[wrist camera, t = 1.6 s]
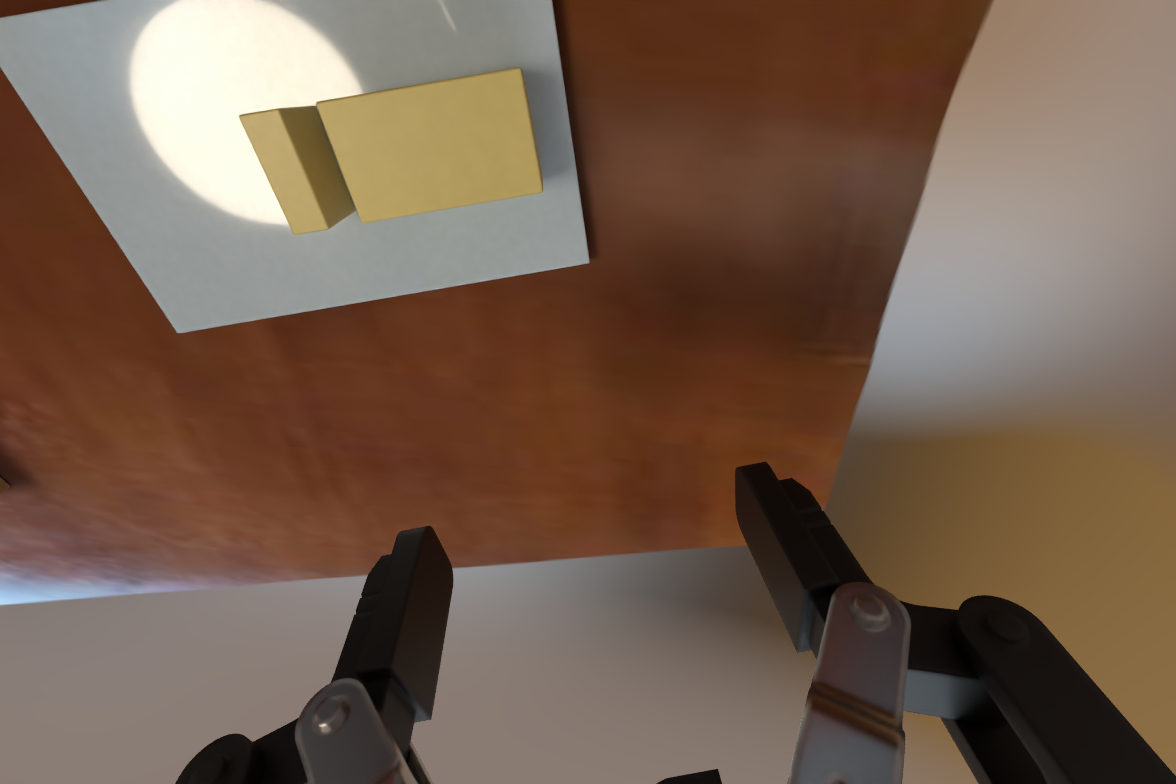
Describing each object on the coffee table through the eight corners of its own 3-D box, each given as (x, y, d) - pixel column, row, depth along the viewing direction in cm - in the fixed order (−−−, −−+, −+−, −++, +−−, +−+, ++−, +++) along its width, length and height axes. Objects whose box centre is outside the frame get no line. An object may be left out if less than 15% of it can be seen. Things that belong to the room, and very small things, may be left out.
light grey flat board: (-5, 25, 18) (-32, 21, 17) (540, -69, 18) (541, -76, 17) (189, 325, 24) (177, 334, 23) (588, 257, 24) (590, 263, 23)
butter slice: (279, 111, 19) (236, 115, 16) (315, 105, 19) (278, 108, 16) (324, 216, 21) (293, 235, 18) (356, 211, 21) (329, 229, 18)
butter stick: (345, 99, 19) (313, 101, 16) (523, 69, 19) (520, 66, 16) (383, 206, 21) (361, 224, 18) (543, 179, 21) (543, 192, 18)
